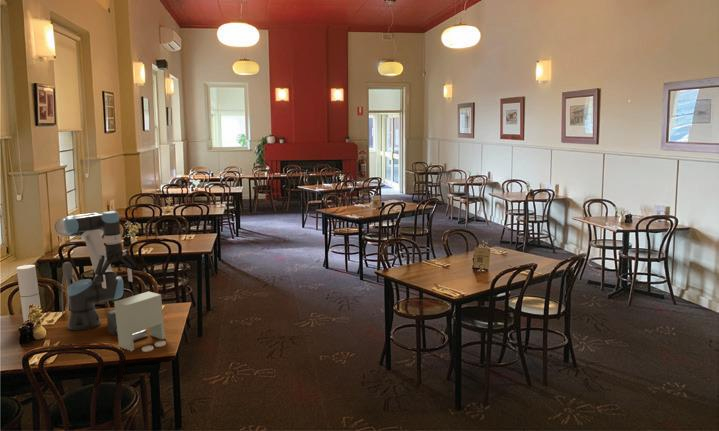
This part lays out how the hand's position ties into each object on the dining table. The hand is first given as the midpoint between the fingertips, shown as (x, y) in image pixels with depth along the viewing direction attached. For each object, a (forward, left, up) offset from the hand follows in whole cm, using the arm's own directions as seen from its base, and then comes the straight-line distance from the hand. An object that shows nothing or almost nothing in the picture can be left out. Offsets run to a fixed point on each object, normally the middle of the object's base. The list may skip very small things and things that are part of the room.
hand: (117, 284), depth 290 cm
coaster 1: (+34, -8, -24) cm, 42 cm away
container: (-53, -19, -24) cm, 61 cm away
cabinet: (+24, -4, -24) cm, 34 cm away
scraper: (+8, -4, -24) cm, 25 cm away
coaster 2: (+34, -1, -24) cm, 41 cm away
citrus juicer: (-45, -3, -24) cm, 51 cm away
